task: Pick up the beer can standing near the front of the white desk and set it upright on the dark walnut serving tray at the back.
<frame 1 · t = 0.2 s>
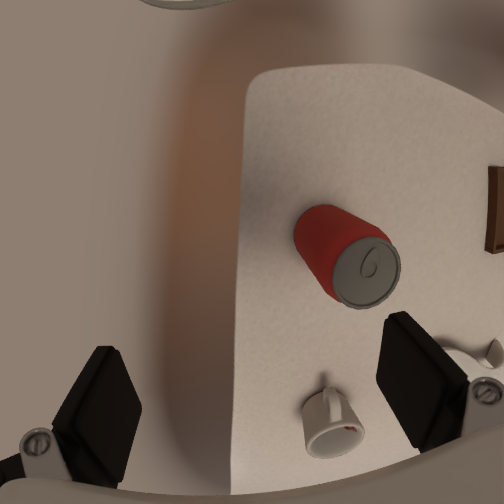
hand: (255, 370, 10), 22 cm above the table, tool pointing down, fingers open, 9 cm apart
cup: (322, 396, 39), on the table
spoon rest: (449, 359, 40), on the table
beer can: (322, 233, 32), on the table
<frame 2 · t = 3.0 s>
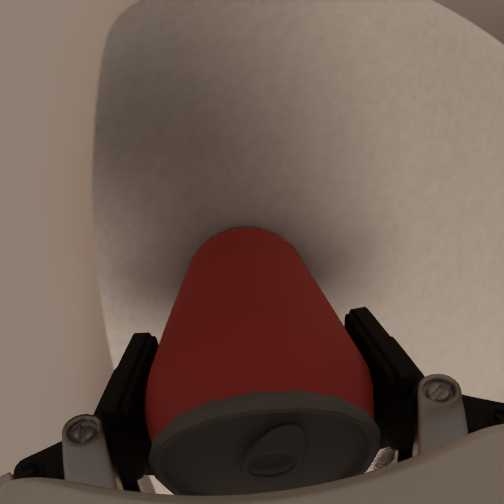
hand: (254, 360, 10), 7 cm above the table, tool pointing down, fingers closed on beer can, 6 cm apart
beer can: (245, 280, 17), on the table, touching gripper
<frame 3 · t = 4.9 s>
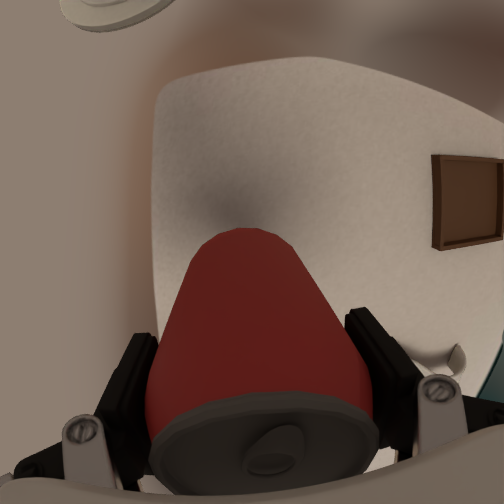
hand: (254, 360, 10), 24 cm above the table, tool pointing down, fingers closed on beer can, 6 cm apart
spoon rest: (400, 365, 40), on the table
beer can: (245, 281, 17), point 16 cm above the table, touching gripper
tray: (468, 199, 33), on the table
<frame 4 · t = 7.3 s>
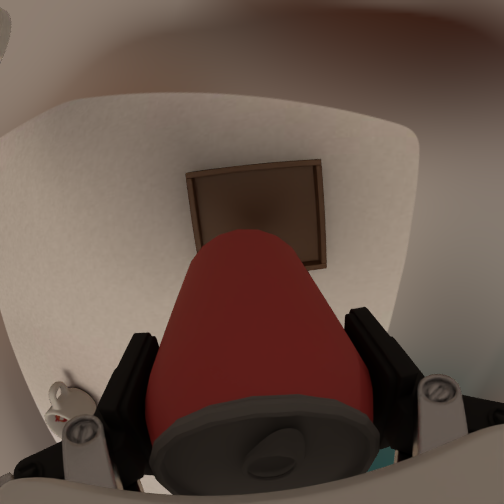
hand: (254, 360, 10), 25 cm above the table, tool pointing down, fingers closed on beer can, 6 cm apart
cup: (78, 392, 40), on the table
beer can: (245, 282, 17), point 17 cm above the table, touching gripper
tray: (258, 218, 34), on the table
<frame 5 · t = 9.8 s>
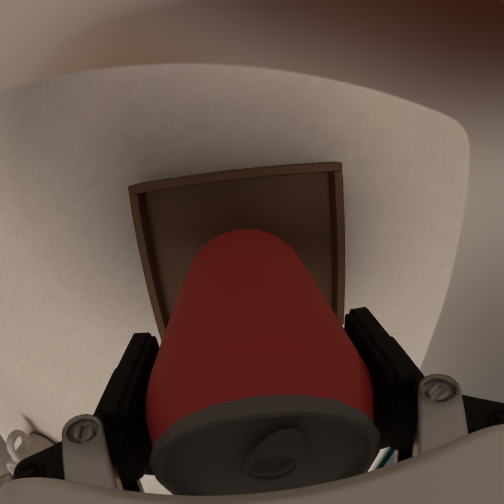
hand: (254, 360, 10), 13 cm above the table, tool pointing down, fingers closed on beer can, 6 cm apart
cup: (42, 438, 29), on the table
spoon rest: (185, 456, 30), on the table
beer can: (245, 282, 17), point 5 cm above the table, touching gripper
tray: (243, 253, 22), on the table
when the fingers open (8 cm above the table, at t = 11.6 s): beer can stays where it is, resting on tray.
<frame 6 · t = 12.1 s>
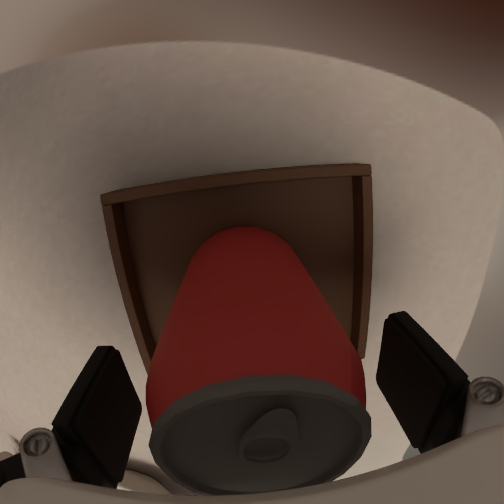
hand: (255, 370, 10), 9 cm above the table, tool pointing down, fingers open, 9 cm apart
spoon rest: (182, 485, 25), on the table
beer can: (244, 278, 18), resting on tray
tray: (246, 276, 18), on the table
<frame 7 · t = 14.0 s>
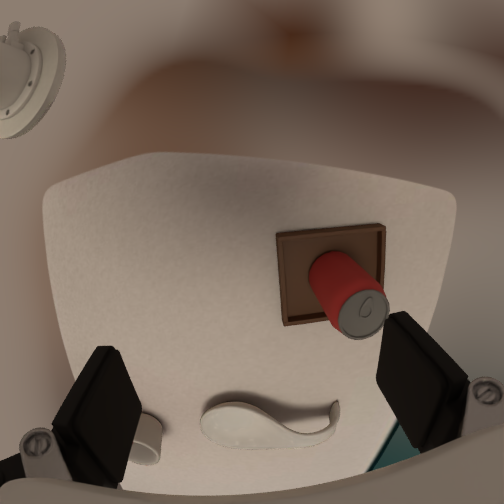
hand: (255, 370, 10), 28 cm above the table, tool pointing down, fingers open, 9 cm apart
cup: (144, 416, 46), on the table
spoon rest: (270, 412, 47), on the table
beer can: (331, 273, 39), resting on tray
tray: (331, 272, 39), on the table
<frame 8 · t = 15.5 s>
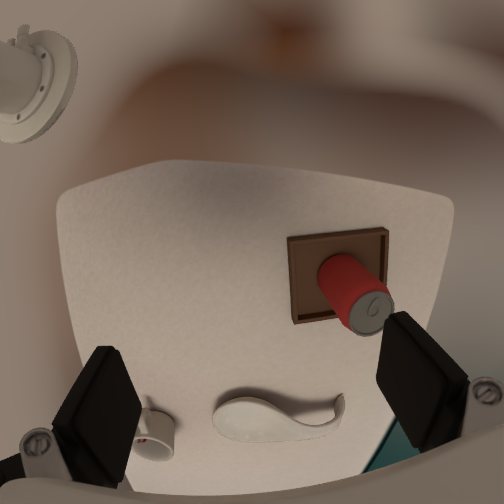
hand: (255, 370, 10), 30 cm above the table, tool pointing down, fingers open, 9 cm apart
cup: (156, 413, 49), on the table
spoon rest: (278, 406, 49), on the table
beer can: (338, 274, 41), resting on tray
tray: (338, 273, 42), on the table
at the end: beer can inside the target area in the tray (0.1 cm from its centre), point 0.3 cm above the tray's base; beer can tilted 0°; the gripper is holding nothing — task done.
